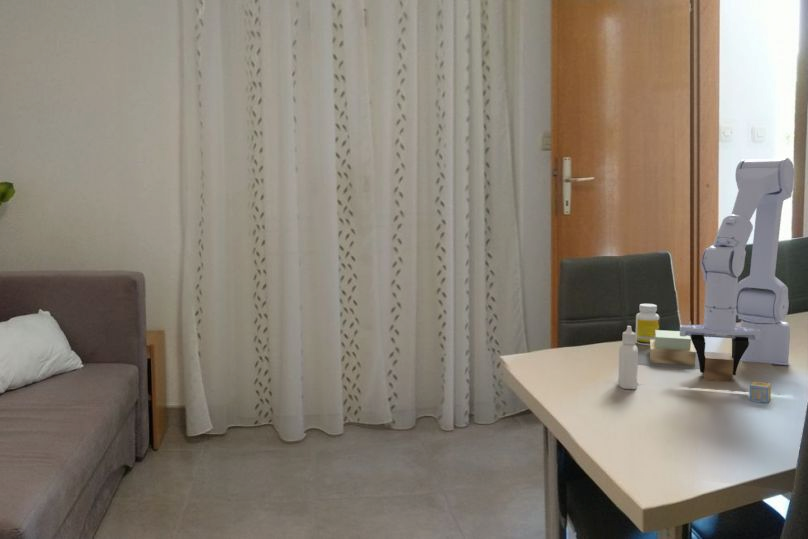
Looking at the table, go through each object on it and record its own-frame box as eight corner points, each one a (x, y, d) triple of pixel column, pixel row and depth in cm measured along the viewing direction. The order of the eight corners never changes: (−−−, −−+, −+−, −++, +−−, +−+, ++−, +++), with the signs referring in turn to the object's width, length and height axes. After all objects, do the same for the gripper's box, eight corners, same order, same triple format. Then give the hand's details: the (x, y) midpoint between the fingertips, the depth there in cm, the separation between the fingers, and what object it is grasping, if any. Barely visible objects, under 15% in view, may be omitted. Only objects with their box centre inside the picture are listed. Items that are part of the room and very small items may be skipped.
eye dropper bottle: (643, 384, 131) (645, 325, 129) (633, 391, 127) (635, 330, 125) (622, 380, 134) (623, 322, 132) (611, 387, 130) (612, 327, 128)
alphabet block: (748, 400, 121) (749, 384, 120) (752, 396, 123) (752, 380, 123) (767, 404, 119) (768, 387, 118) (770, 399, 121) (771, 383, 121)
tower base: (691, 354, 150) (692, 341, 149) (695, 365, 141) (695, 351, 141) (649, 352, 153) (650, 339, 152) (650, 362, 144) (650, 349, 144)
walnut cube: (729, 377, 135) (730, 353, 134) (732, 384, 130) (733, 359, 129) (702, 375, 136) (703, 351, 136) (704, 382, 132) (705, 358, 131)
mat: (707, 355, 151) (707, 353, 151) (714, 372, 138) (714, 370, 138) (633, 350, 156) (633, 348, 156) (633, 366, 143) (633, 364, 143)
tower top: (688, 342, 149) (688, 331, 148) (690, 350, 142) (690, 339, 142) (654, 340, 151) (655, 330, 151) (655, 348, 144) (656, 337, 144)
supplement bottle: (661, 346, 159) (663, 306, 158) (639, 347, 159) (640, 307, 158) (653, 341, 164) (655, 302, 163) (632, 341, 164) (633, 303, 163)
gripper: (682, 308, 130) (679, 375, 132) (765, 312, 125) (761, 381, 127) (680, 301, 136) (677, 365, 138) (758, 305, 132) (755, 371, 133)
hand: (717, 372), depth 133 cm, fingers closed on walnut cube, 5 cm apart
